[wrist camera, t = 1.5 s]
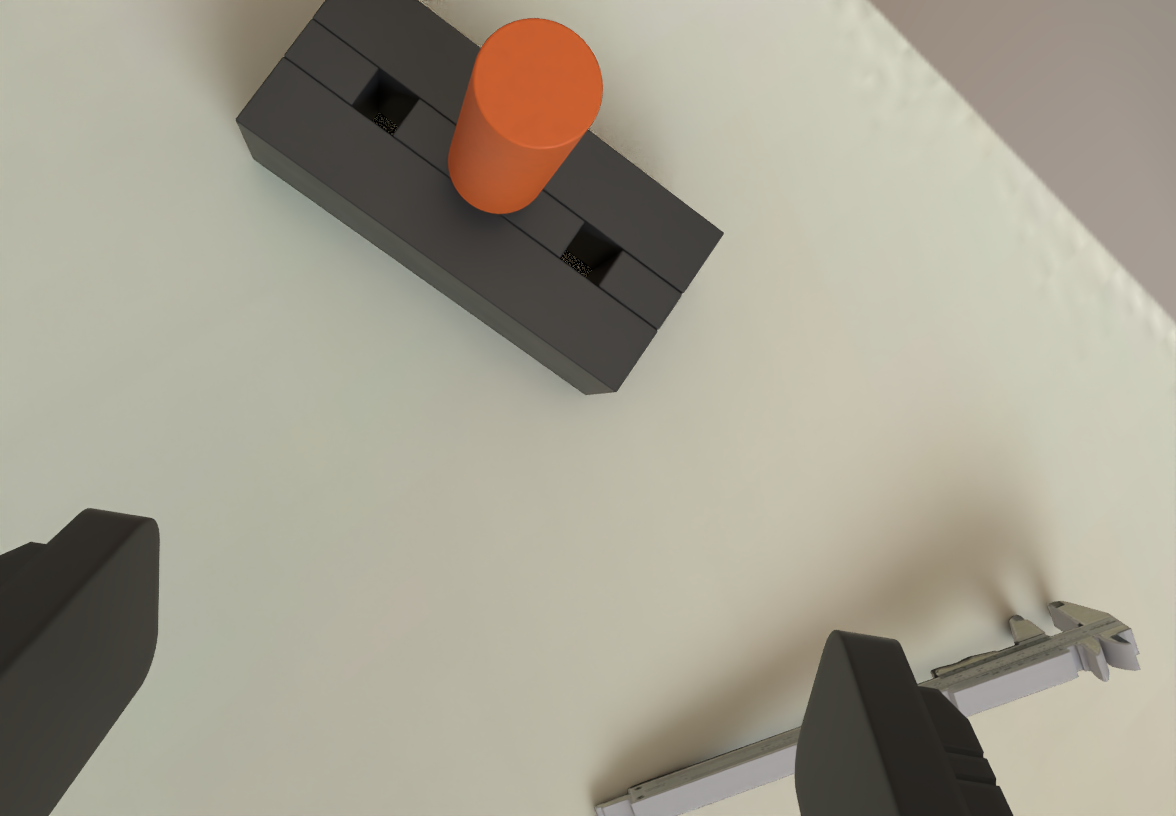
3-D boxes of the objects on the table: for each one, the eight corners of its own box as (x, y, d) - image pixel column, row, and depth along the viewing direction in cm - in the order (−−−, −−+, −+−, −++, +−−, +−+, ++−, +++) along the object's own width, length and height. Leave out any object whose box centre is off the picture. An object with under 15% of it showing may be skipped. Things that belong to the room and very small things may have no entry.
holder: (586, 395, 40) (616, 392, 35) (252, 158, 37) (234, 119, 32) (681, 254, 40) (724, 232, 36) (361, 14, 38) (359, -45, 33)
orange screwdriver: (434, 249, 39) (473, 145, 24) (434, 165, 39) (472, 12, 24) (516, 250, 39) (603, 151, 25) (516, 169, 39) (603, 22, 25)
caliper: (1052, 596, 44) (1164, 625, 37) (1060, 620, 44) (1174, 654, 37) (592, 804, 40) (633, 874, 33) (602, 830, 40) (645, 906, 34)
